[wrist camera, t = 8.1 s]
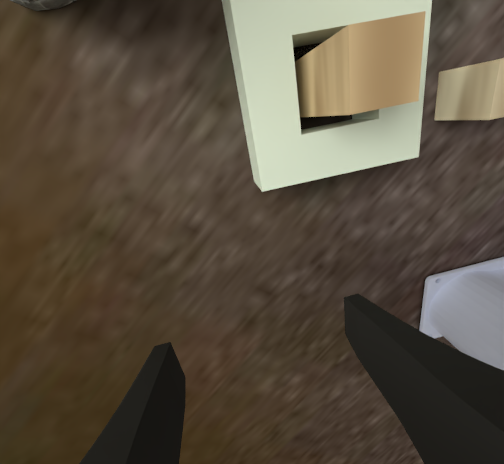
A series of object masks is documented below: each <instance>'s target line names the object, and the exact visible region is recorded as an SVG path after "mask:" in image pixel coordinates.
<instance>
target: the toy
mask: <svg viewBox="0 0 504 464" xmlns="http://www.w3.org/2000/svg"><path fill="white" fill-rule="evenodd" d="M10 1H13V2H15V3H17V4H20V5H22V6H25V7H28V8H30V9H33V10H35V11H40V10H48V9H57V8H61V7H63V6H65V5H67V4H70V3H72V2H74V1H76V0H10Z"/></svg>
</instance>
